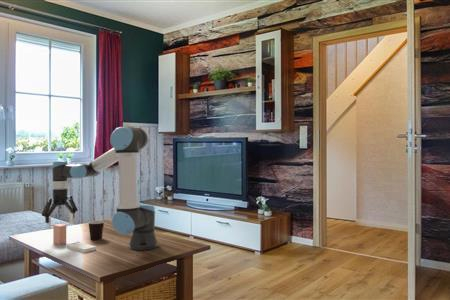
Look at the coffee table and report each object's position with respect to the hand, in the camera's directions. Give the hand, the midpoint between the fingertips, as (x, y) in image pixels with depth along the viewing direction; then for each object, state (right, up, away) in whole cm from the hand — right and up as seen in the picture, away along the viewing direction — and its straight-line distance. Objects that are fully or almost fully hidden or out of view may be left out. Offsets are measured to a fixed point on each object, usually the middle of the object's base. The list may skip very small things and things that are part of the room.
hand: (60, 226), depth 205 cm
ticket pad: (+16, -10, -11) cm, 22 cm away
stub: (-1, -9, 0) cm, 9 cm away
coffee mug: (+17, -10, +12) cm, 23 cm away
